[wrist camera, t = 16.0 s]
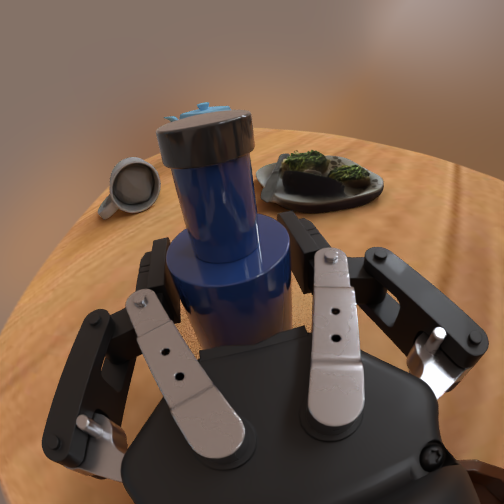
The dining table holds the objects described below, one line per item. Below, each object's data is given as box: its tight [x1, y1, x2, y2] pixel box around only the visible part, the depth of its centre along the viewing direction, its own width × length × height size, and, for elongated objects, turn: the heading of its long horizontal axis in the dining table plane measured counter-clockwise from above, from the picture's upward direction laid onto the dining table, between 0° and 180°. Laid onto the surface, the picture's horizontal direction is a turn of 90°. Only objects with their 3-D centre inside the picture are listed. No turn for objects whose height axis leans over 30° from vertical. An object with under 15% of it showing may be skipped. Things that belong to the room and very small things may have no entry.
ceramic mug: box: [98, 157, 161, 219], centre depth 38 cm, size 11×8×8 cm
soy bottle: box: [156, 110, 293, 350], centre depth 12 cm, size 5×5×15 cm
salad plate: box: [256, 150, 384, 213], centre depth 37 cm, size 19×18×5 cm
